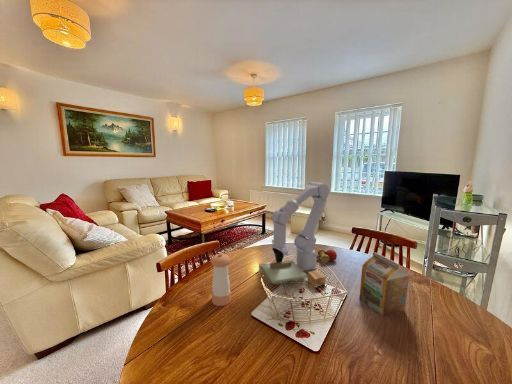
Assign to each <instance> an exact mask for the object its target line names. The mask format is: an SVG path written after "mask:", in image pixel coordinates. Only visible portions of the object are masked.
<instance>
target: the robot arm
mask: <svg viewBox="0 0 512 384" xmlns="http://www.w3.org/2000/svg"><path fill="white" fill-rule="evenodd" d="M330 192H331V189H330V186H329V185H328V184H327V183H325V182H317V181H309V182H308V183H307V184H306V185H305V187H304V189H303V190H302V191H301V192H300V193H299V194H298V195H297V196H296V197H295V198H294V199H290V200H287V201H286V203H285V204H284V205H283V206H281V207H280V208H279V209H276V210H274V212H272V215H271V220H272V222H273V223H272V224H273V239H271V245H270V247H271V248H272V251H273V254H274V256H275V257H274V258H275V261H276V262H281V261H282V260H284V257H285V256H288V255H289V251H288V249H287V243H286V242H287V240H286V239H287V224H288V223H289V220H290V219H291V217H292V216H293V214H295V213H296V212H297V211H298V210H299V206H300V205H301V204H303V203H304V202H305V201H306V200H308V199H309V198H312V199H313V204H312V206H311V210H310V212H309V215H308V217H307V220H306V223H305V225H304V228H303V230H301V231H299V232H298V233H297V236H295V238H294V241H293V243H294V246H295V247H296V249H297V250H296V262H294V263H295V264H296V265H297V266H298V267H299V268H300V269H301V270H302V271H303V272H305V271H310V270H311V271H313V270H318V267H317V259H318V258H317V255H318V254H317V252H316V250H315V248H316V243H317V238H316V235H315V232H316V229H317V227H318V224H319V222H320V220H321V217H322V214H323V211H324V209H325V206H326V203H327V199H328V196H329V193H330Z"/></svg>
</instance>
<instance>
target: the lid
mask: <svg viewBox="0 0 512 384" xmlns="http://www.w3.org/2000/svg"><path fill="white" fill-rule="evenodd" d="M287 260H288V261H281V262H275V261H274V262H275V263H270V264H265V265H262V268H263V270H264V271H265V273H266V274H267V276H268V277H269V279H270V280H271V282H272V283H277V282H283V281H289V280H294V279H300V278H302V279H305V278H308V274H306V273H305V271H302V270H301V269H300V268H299V267H298V266H297V265H296V264H295V263H296V262H294V260H290V259H287Z"/></svg>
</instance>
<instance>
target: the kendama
mask: <svg viewBox="0 0 512 384" xmlns="http://www.w3.org/2000/svg"><path fill="white" fill-rule="evenodd" d="M316 255H317V259H320V261H321V263H323V264H327V263H329V262H334V261H335V260H337V257H338V255H337V252H336V251H335V250H333V249H328V250H325V249H321V248H320V249H319V250H318V251H317V254H316Z"/></svg>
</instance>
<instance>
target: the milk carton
mask: <svg viewBox="0 0 512 384" xmlns="http://www.w3.org/2000/svg"><path fill="white" fill-rule="evenodd" d="M400 266H401V265H400V263H398V262H396V261H394V260H392V259H390V258H388V257H385V256H384V255H381V254H379V253H378V252H373V255H372V256H371V257H369V258H368V259H367V260H366V261H364V263H363V264H362V266H361V267H362V268H361V276H360V277H361V279H360V289H359V300H360V299H361V300H360V301H362V302H363V303H364V304H366V306H368V307H369V308H371V309H372V310H373V311H374V312H375V313H377V314H378V315H379V316H380V317H381V318H385V317H388V316H391V315H396V314H400V313H403V312H405V311H406V304H407V296H408V287H409V280H410V275H409V274H408V272H406V271H405V269H404V270H403V269H401V267H400ZM402 311H403V312H402ZM399 312H400V313H399Z"/></svg>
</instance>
